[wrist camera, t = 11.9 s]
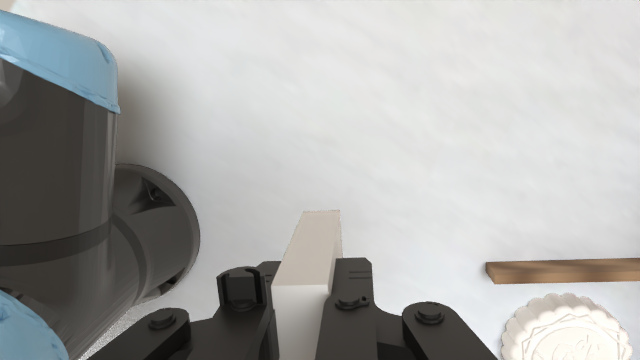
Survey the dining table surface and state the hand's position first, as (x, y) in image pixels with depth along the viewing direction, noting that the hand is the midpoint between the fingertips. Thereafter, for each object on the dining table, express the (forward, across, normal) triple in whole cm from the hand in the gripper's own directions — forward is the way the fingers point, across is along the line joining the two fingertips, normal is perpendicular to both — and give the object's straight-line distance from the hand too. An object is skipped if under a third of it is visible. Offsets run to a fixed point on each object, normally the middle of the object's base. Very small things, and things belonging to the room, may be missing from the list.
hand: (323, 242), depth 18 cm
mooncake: (+27, +22, -23) cm, 41 cm away
